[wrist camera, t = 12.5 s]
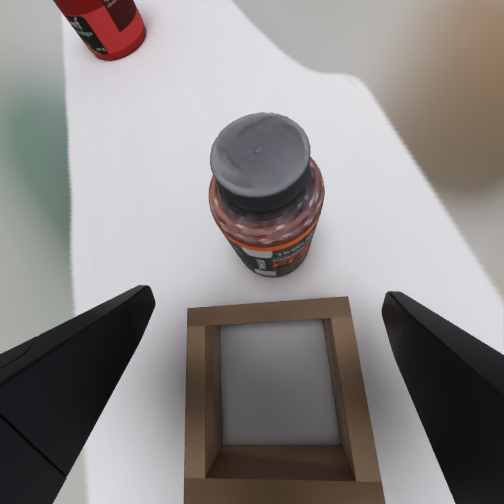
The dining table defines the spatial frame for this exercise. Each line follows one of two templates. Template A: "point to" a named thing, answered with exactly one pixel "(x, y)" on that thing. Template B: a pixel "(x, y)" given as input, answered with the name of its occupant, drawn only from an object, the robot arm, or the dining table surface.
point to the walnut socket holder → (277, 457)
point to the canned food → (105, 25)
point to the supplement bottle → (266, 191)
